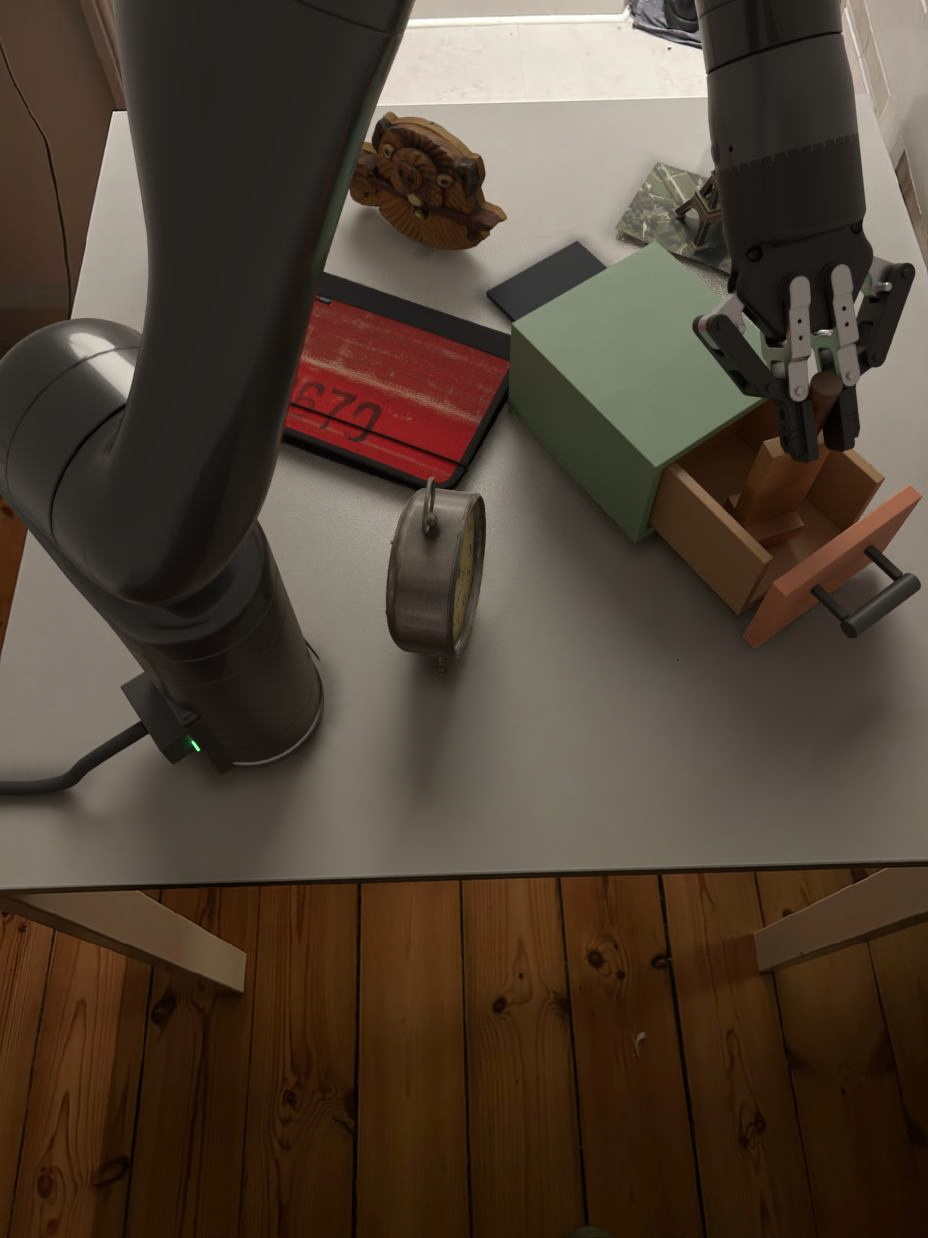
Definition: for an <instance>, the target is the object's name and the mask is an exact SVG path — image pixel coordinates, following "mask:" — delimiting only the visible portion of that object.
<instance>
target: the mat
mask: <svg viewBox="0 0 928 1238" xmlns="http://www.w3.org/2000/svg"><path fill="white" fill-rule="evenodd" d="M607 268H608V266H606V265H605V264H604V263H603V262H602V261H601V260H599V258H598V257H596V256H595V255H594V254H593V253H592V252H591V251H589V249H587V247H585V246H584V245H583V244H582V243H581V242H580V241H579V240H576V241H574V242H572V243H571V244H569V245H567V246H565V247H564V248H561V249H560V250H558V251H556V252H553V253H552V254H550V255H549V256H547V257H545V258H543V259H542V260H540V261H538V262H536V263H535V264H533V265H531V266H529V267H527V268H526V269H524V270H522V271H520V272H518V273H517V274H515V275H513V276H511V277H510V278H508V279H506V280H504V281H503V282H501V283H499V284H497V285H495V286H493V287H492V288H490V289H488V290H487V291H486V292H485V297H486V298H487V299H488V300H489V301H490V302H491V303H492V304H493V306H495V307H496V308H497V309H498V310H499V311H500V312H501V313H502V314H503V315H504V316H505V317H506V318H507V319H508V320H509V321H510V322H511V324H512V323H513V322H515V321H517V320H519V319H520V318H522V317H524V316H526V315H527V314H529V313H531V312H532V311H534V310H536V309H538V308H539V307H541V306H543V305H545V304H546V303H548V302H550V301H552V300H553V299H555V298H557V297H559V296H560V295H562V294H564V293H565V292H567V291H569V290H571V289H572V288H574V287H576V286H578V285H579V284H581V283H583V282H585V281H586V280H588V279H590V278H592V277H593V276H595V275H597V274H599V273H600V272H602V271H604V270H605V269H607Z"/></svg>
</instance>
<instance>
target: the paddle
mask: <svg viewBox="0 0 928 1238" xmlns="http://www.w3.org/2000/svg"><path fill="white" fill-rule="evenodd" d="M842 387H843V384H842V381H841V379H840V378H839V377H838V376H837V375H836V374H834V373H832V372H828V371H821V372H818V371H817V372H816V373H814V375H812V377H811V378H810V381H809V393H808V396H807V397H806V399H812V401H813V409H814V417H815V425H816V433H817V441H818V449H819V458H818V459H817V460H814V461H811V462H808V463H803V462H799V461H795V460H793V459H792V458H791V457H790V454H787V453H784V451H783V449H782V447H781V445H780V438H779V437H777V438H774V439H771V440H767V441H764V442H763V443H762V446H761V448H760V450H759V453H758V455H757V457H756V460H755V462H754V464H753V467H752V469H751V471H750V474H749V476H748V478H747V481H746V483H745V485H744V488H743V490H742V492H740V493H737V494H734V495H731V496H728V497H727V499H726V502H725V504H724V507H723V509H724V510H725V511H726V512H727V513H728V514H729V515H730V516H731V517H732V518H733V519H734V520H735V521H736V522H737V523H738V524H739V525H741V526H742V527H743V528H744V529H745V530H746V531H747V532H748V533H749V534H750V535H751V536H752V537H753V538H754V539H755V540H756V541H757V542H758V543H759V544H760V545H761V546H762V547H763V548H766V547H769V546H772V545H775V544H779V543H782V542H785V541H788V540H791V539H794V538H797V537H799V535H800V533H801V531H802V530H803V528H804V526H805V525H804V523H803V522H802V520H801V518H800V517H799V515H798V513H797V511H796V510H798V509H799V508H800V506H801V504H802V502H803V500H804V498H805V497H806V495H807V493H808V491H809V489H810V487H811V485H812V483H813V482H814V480H815V478H816V476H817V474H818V472H819V470H820V468H821V466H822V465H823V463H824V461H825V459H826V457H827V455H828V453H829V451H830V450H829V449H827V447H826V446H825V444H824V438H823V430H822V428H823V426H824V424H825V422H826V420H827V418H828V416H829V414H830V412H831V410H832V408H833V406H834V404H835V402H836V400H837V398H838V396H839V394H840V392H841V390H842Z"/></svg>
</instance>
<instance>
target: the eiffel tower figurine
mask: <svg viewBox="0 0 928 1238" xmlns="http://www.w3.org/2000/svg"><path fill="white" fill-rule="evenodd" d="M614 229H616V230H619V231H621V232H622V233H624V234H627V235H629V236H630V237H633V238H635V239H637V240H640V241H642V242H644V243H646V244H648V245H649V244H651V243H652V242H654V241H656V242H658V243H659V244H660V245H661V246H662V247H663V248H664V249H666V250H667V251H668V252H669V253H674V254H677V255H680V256H683V257H686V258H688V259H689V260H690V261H692V260H695V261H697V262H700V263H702V264H706V265H708V266H711V267H713V268H715V269H716V270H717V269H718V270H720V271H722V272H724V273H727V274H729V275H730V271H731V258H730V254H729V252H728V249H727V246H726V241H725V234H724V227H723V221H722V214H721V207H720V200H719V193H718V186H717V180H716V173H715V168H714V169H713V170H711V171H710V176H709V177H706V176H703V175H700V174H697V173H694V172H691V171H688V170H684V169H680V168H677V167H674V166H671V165H669V164H665V163H662V162H659V161H657V162H656V163H655V164H654V166H653V168H652V169H651V171H650V172H649V174H648V176H647V177H646V178H645V180H644V181H643V183H642V185H641V186H640V188H639V189H638V191H637V192H636V194H635V196H634V197H633V199H632V200H631V202H630V203H629V205H628V207H627V208H626V210H624V212H623V214H622V216H621V217H620V219H619V220H618V222H617V223H616V225H615V227H614Z"/></svg>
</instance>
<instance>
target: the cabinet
mask: <svg viewBox="0 0 928 1238" xmlns="http://www.w3.org/2000/svg"><path fill="white" fill-rule="evenodd" d="M723 299H724V298H722V297H721V296H720V295H719V294H718V293H716V292H715V291H714V290H713V289H712V288H711V287H709V285H707V284H706V283H705V282H704V281H702V280H701V279H700V278H699V277H698V276H697V275H696V274H694V273H693V272H692V271H691V270H690V269H689V268H688V267H686V266H685V265H684V264H683V263H682V262H681V261H679V259H677V258H676V257H675V256H674V255H673V254H671V252H670V251H667V250H666V249H664V248H663V247H662V246H661V245H660V244H659V243H658V242H656V241H654V242H652V243H651V244H649V243H648V244H647V245H645V246H644V247H641V248H640V249H639V250H636V251H635V252H633V253H632V254H629V255H628V256H626V257H624V258H623V259H621V260H620V261H617V262H616V263H614V264H612V265H610V266H609V267H607V269H605V270H604V271H602V272H600V273H599V274H597V275H595V276H593V277H592V278H590V279H588V280H586V281H585V282H583V283H581V284H579V285H578V286H576V287H574V288H572V289H571V290H569V291H567V292H565V293H564V294H562V295H560V296H559V297H557V298H555V299H553V300H552V301H550V302H548V303H546V304H545V305H543V306H541V307H539V308H538V309H536V310H534V311H532V312H531V313H529V314H527V315H526V316H524V317H522V318H520V319H519V320H517V321H515V322H513V323H512V322H511V325H510V335H511V345H510V371H509V397H508V400H507V402H508V403H507V409H508V411H509V412H510V413H511V414H512V415H513V416H514V417H515V418H516V420H518V421H519V422H520V424H522V426H523V427H524V428H525V429H526V430H527V431H528V432H529V433H530V434H531V435H532V436H533V437H534V438H535V440H537V442H538V443H539V444H540V445H541V446H542V447H543V448H544V449H545V450H546V451H547V453H549V454H550V455H551V456H552V457H553V458H554V460H556V461H557V463H558V464H560V466H561V467H562V468H563V469H564V470H565V471H566V472H567V473H568V475H570V476H571V477H572V479H573V480H575V481H576V483H578V485H579V486H580V487H581V488H582V489H583V490H584V491H585V492H586V493H587V494H588V495H589V496H590V497H591V499H593V500H594V502H596V504H597V505H598V506H599V507H600V508H601V509H602V510H603V511H604V512H605V513H606V514H607V515H608V516H609V518H611V519H612V520H613V522H614V523H615V524H617V526H618V527H619V528H620V529H621V530H622V531H623V532H624V533H625V535H627V536H628V537H629V538H630V539H631V540H632V542H633V543H635V544H637V543H638V542H640V541H641V540H643V539H644V538H646V537H647V536H649V535H650V534H652V533H653V532H654V531H656V530H655V529H654V528H653V527H652V526H651V525H650V524H649V523H648V519H649V516H650V512H651V509H652V505H653V501H654V498H655V494H656V491H657V487H658V484H659V480H660V477H661V473H662V469H663V468H665V467H666V466H668V465H669V464H671V463H672V462H674V461H675V460H677V459H678V458H680V457H682V456H683V455H685V454H686V453H688V452H689V451H691V450H692V449H694V448H695V447H697V446H698V445H700V444H701V443H703V442H704V441H706V440H708V439H709V438H711V437H712V436H714V435H715V434H717V433H718V432H720V431H721V430H723V429H724V428H726V427H727V426H729V425H730V424H732V423H733V422H735V421H737V420H738V419H740V418H741V417H743V416H744V415H746V414H747V413H749V412H750V411H752V410H753V409H755V408H756V407H758V406H759V405H761V404H763V403H764V402H766V401H767V400H769V399H766V398H759V397H752V396H746V395H744V394H743V393H742V392H741V391H740V390H739V389H738V387H737V386H736V385H735V383H734V382H733V381H732V380H731V378H730V377H729V376H728V375H727V373H726V372H725V371H724V370H723V368H722V367H721V366H720V365H719V363H718V362H717V361H716V360H715V358H714V357H713V356H712V355H711V353H710V352H709V351H708V350H707V348H706V347H705V346H704V345H703V343H702V342H701V341H700V340H699V338H698V337H697V336H696V335H695V333H694V332H693V329H692V324H693V321H694V319H695V318H696V317H697V316H699V315H708V314H709V313H710V312H711V311H712V310H713V309H714V308H715V307H716V306H717V305H718V304H719V303H720V302H721V301H722V300H723ZM742 320H743V322H744V324H745V327H746V330H745V332H744V334H743V337H744V338H745V339H746V340H747V342H748V343H749V344H750V346H751V347H752V348H753V349H754V351H755V352H756V353H757V355H758V356H759V357H760V358H761V360H762V361H763V362H764V364H765V365H766V366H767V363H766V361H765V360H764V359H763V357H762V352H761V339H760V330H759V329H758V328H757V327H756V326H755V325H754V324H753V323H752V322H750V321H748V320H747V319H746V318H745V317H744V316H743V315H742Z"/></svg>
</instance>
